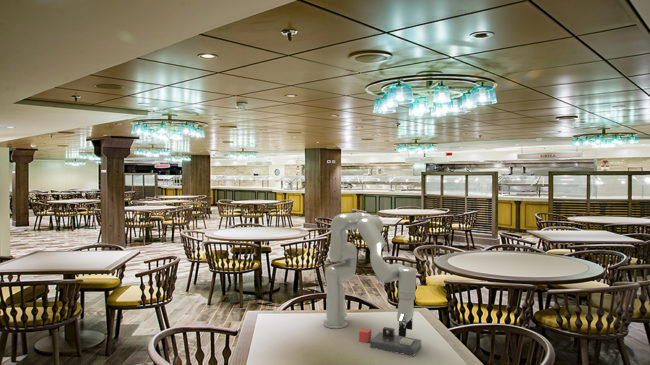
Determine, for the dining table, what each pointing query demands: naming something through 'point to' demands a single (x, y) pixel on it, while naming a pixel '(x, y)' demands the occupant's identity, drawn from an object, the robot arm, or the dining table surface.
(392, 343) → the panel
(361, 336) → the red block
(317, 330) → the dining table surface
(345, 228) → the robot arm
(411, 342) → the button
